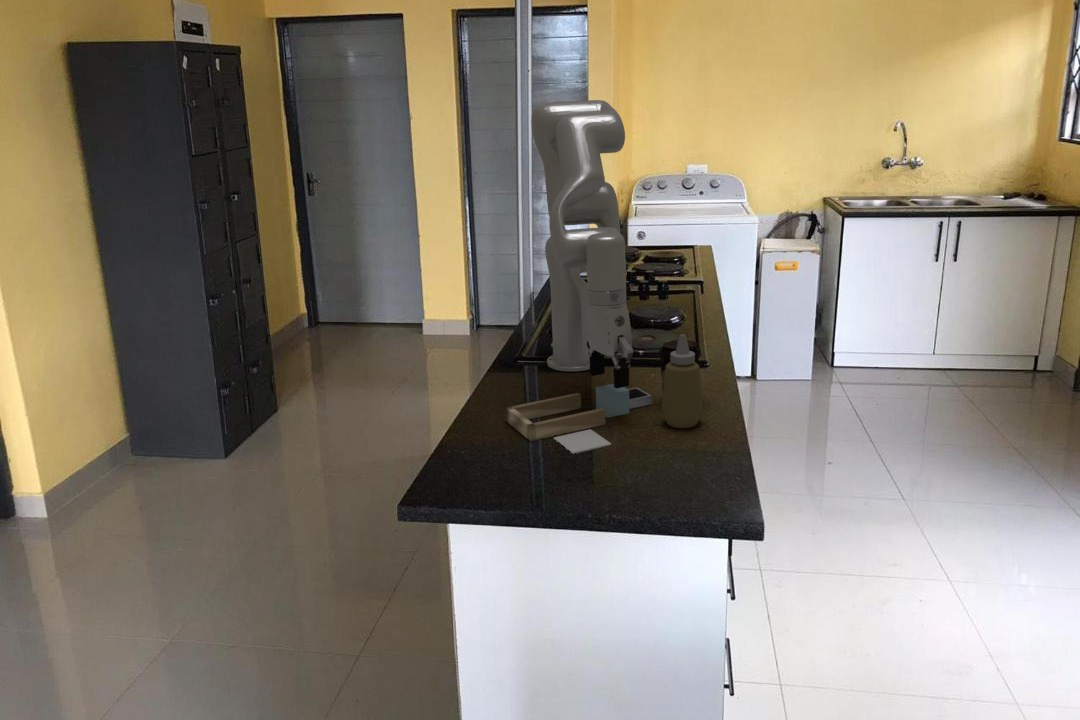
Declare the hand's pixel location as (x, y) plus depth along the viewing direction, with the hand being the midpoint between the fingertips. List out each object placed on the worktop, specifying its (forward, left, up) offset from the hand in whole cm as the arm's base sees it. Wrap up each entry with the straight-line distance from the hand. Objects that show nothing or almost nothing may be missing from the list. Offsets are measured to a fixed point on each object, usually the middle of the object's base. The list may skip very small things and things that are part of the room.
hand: (609, 380), depth 174 cm
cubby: (-1, -11, -7) cm, 13 cm away
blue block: (0, +1, -7) cm, 7 cm away
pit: (-2, +7, -7) cm, 10 cm away
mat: (+10, -12, -7) cm, 17 cm away
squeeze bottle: (+12, +9, -7) cm, 17 cm away
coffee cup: (+3, +15, -7) cm, 17 cm away
